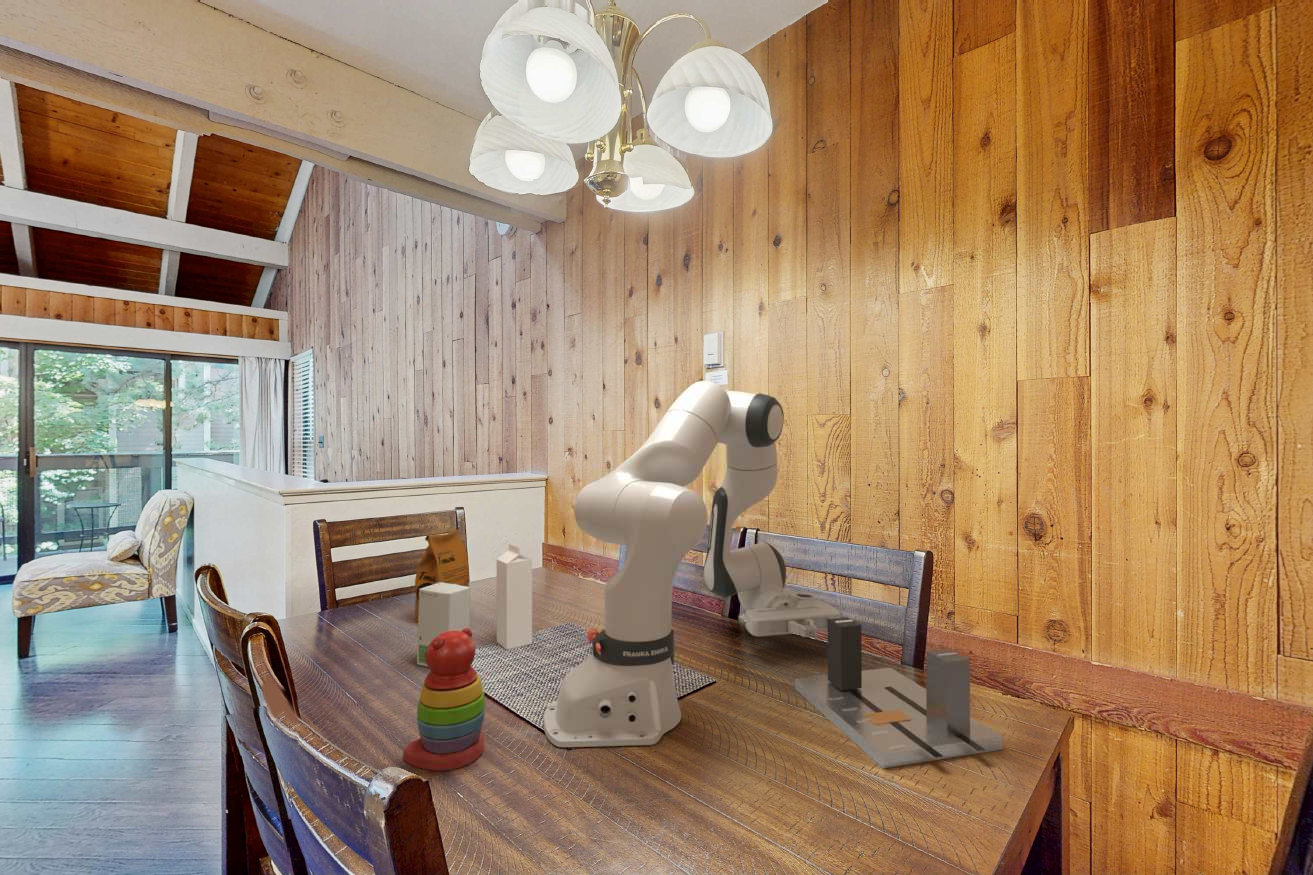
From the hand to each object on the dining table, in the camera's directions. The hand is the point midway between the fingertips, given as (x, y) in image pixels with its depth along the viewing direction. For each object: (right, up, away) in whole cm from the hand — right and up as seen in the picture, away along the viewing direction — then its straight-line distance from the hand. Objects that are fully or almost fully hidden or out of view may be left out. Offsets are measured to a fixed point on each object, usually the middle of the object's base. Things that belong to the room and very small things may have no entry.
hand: (810, 632), depth 114 cm
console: (+8, -7, -20) cm, 23 cm away
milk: (-63, -8, +16) cm, 65 cm away
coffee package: (-85, -8, +34) cm, 92 cm away
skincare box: (-74, -8, +5) cm, 75 cm away
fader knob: (+3, -5, -11) cm, 13 cm away
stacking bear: (-61, -8, -29) cm, 68 cm away
